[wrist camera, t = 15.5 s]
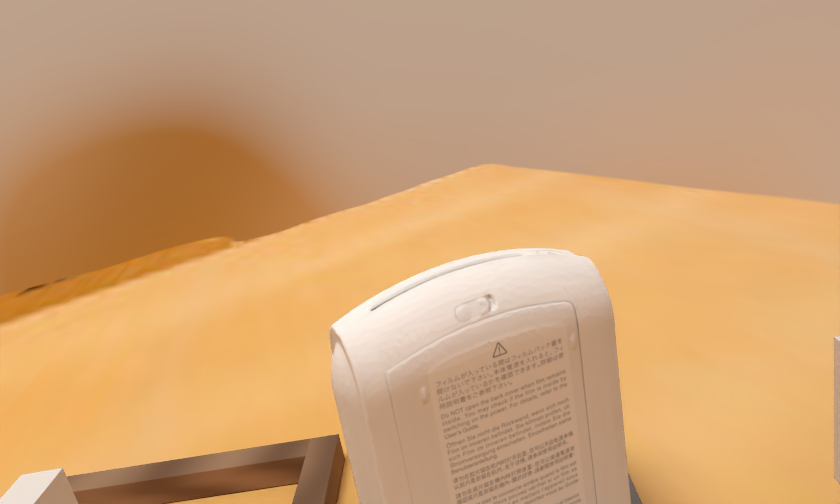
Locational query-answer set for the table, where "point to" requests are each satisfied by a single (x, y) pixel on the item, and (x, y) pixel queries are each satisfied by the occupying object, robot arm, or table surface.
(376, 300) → the photo printer
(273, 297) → the table surface
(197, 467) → the walnut frame
